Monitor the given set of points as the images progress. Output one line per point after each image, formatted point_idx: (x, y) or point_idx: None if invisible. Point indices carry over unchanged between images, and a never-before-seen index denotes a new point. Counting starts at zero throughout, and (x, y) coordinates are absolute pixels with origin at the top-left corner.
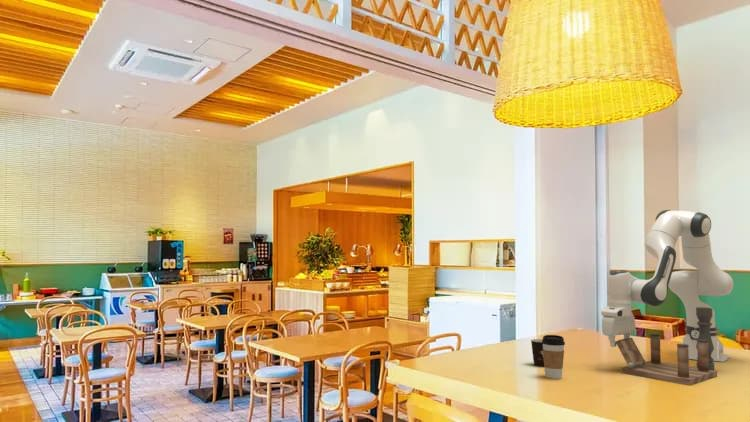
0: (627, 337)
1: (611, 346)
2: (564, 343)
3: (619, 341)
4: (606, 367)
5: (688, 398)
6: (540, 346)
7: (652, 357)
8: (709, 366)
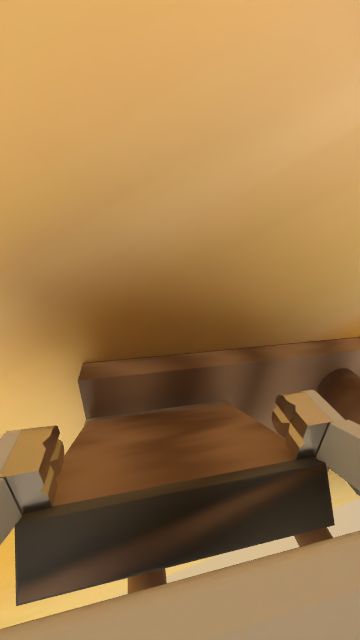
0: (356, 477)
1: (10, 438)
2: None
3: (26, 570)
4: (147, 239)
5: None
6: None
7: (340, 401)
8: (352, 488)
